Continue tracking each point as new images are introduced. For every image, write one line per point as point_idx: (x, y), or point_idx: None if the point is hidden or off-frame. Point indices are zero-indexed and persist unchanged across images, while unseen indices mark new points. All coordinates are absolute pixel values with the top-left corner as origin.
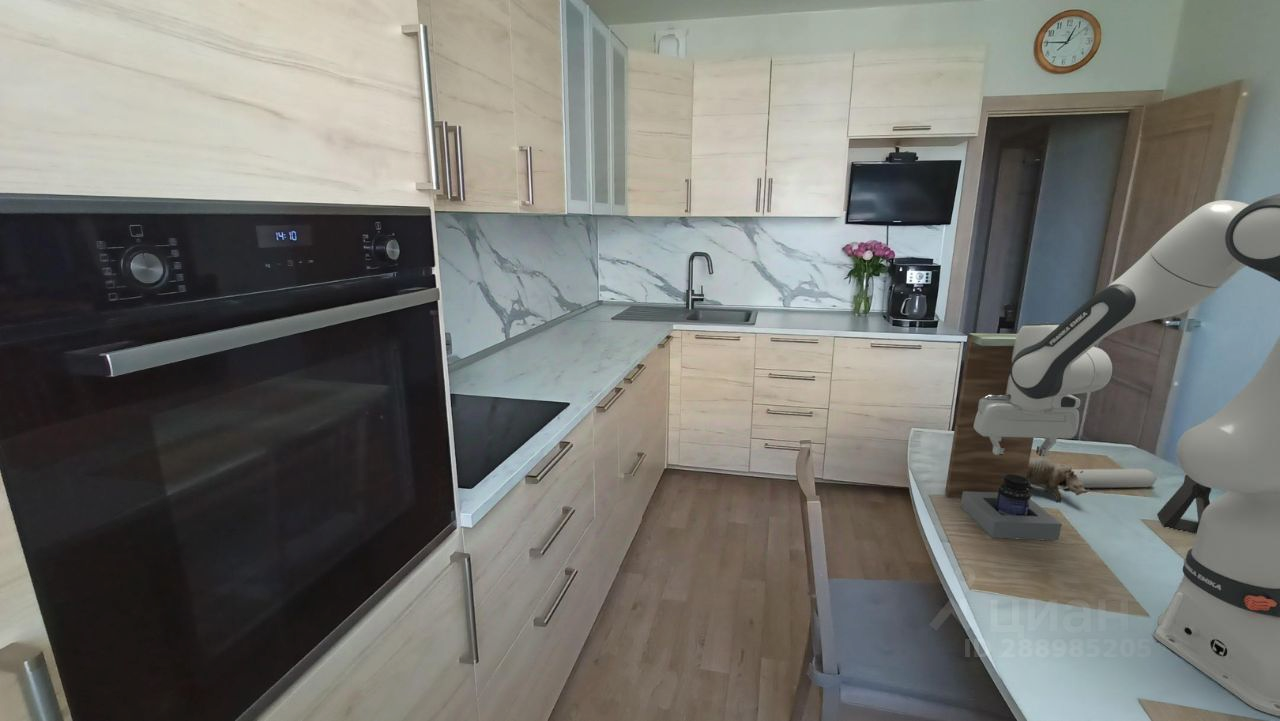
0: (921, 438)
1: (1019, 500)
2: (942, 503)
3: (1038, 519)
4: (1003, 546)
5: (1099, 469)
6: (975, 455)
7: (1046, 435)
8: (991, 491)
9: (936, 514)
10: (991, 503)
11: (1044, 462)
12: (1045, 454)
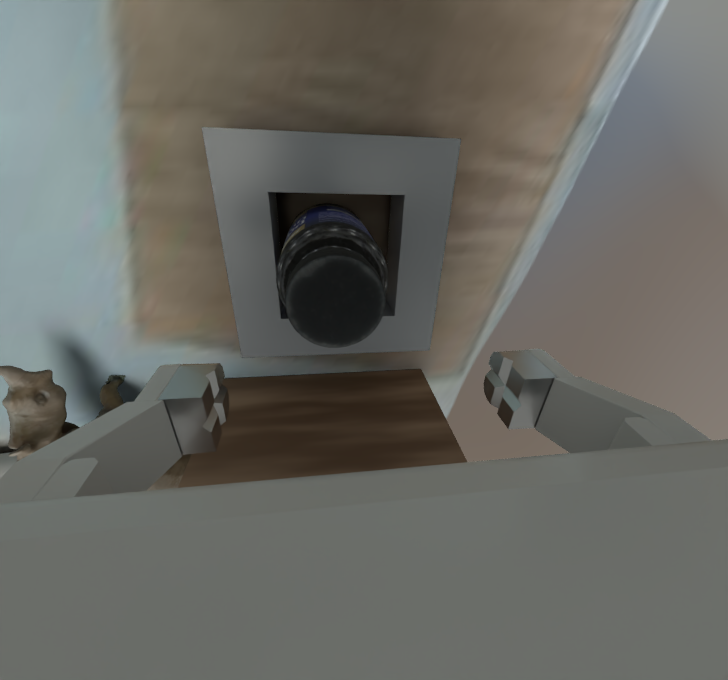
0: None
1: (342, 222)
2: (453, 337)
3: (281, 165)
4: (433, 82)
5: None
6: None
7: (123, 523)
8: (310, 387)
9: (507, 278)
10: None
11: None
12: (178, 369)
